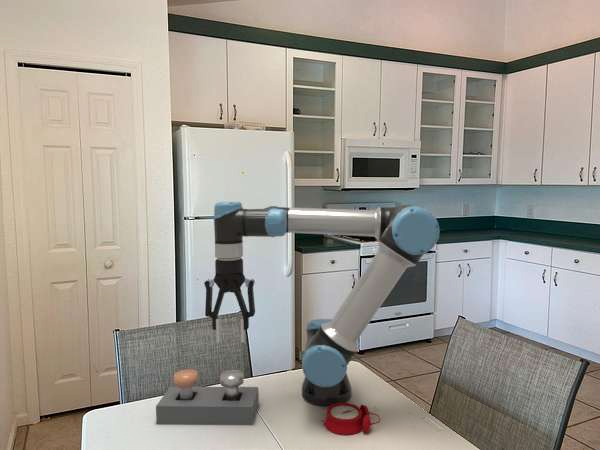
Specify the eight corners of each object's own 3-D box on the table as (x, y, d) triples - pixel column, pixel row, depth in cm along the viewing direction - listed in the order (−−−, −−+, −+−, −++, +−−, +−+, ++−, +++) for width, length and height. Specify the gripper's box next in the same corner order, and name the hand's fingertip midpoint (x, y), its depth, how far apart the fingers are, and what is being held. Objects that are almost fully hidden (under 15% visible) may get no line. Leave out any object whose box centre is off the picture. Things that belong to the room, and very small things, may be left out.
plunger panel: (258, 403, 131) (258, 387, 131) (252, 425, 119) (252, 406, 119) (171, 402, 132) (170, 386, 132) (156, 424, 120) (155, 406, 120)
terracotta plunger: (200, 394, 129) (199, 369, 128) (194, 405, 122) (193, 378, 122) (178, 394, 129) (177, 369, 129) (171, 404, 123) (170, 378, 122)
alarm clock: (320, 402, 124) (373, 391, 123) (325, 423, 125) (378, 413, 124) (320, 422, 114) (378, 410, 113) (325, 445, 114) (383, 433, 113)
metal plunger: (245, 394, 128) (245, 369, 128) (241, 405, 122) (241, 379, 121) (223, 394, 129) (222, 369, 128) (218, 405, 122) (217, 378, 122)
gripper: (265, 256, 125) (266, 336, 127) (198, 256, 126) (200, 336, 128) (262, 260, 118) (263, 345, 120) (190, 260, 119) (193, 345, 121)
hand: (231, 340), depth 124 cm, fingers open, 6 cm apart
